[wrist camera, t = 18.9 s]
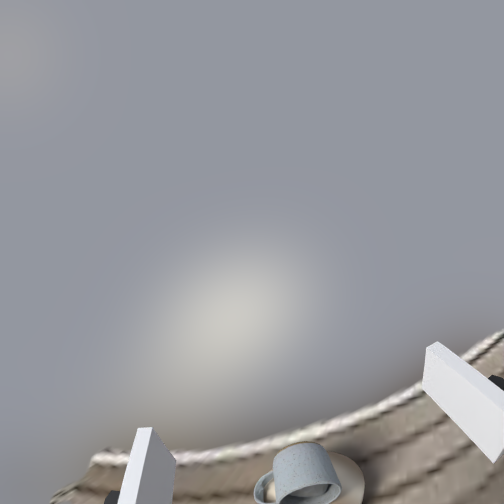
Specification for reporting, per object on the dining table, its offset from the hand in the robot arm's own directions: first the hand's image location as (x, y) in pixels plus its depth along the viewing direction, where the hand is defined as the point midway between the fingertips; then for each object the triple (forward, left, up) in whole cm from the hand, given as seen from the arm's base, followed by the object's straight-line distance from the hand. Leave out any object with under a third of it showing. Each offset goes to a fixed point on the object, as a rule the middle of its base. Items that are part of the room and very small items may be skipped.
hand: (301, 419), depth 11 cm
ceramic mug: (-3, -10, -27) cm, 28 cm away
